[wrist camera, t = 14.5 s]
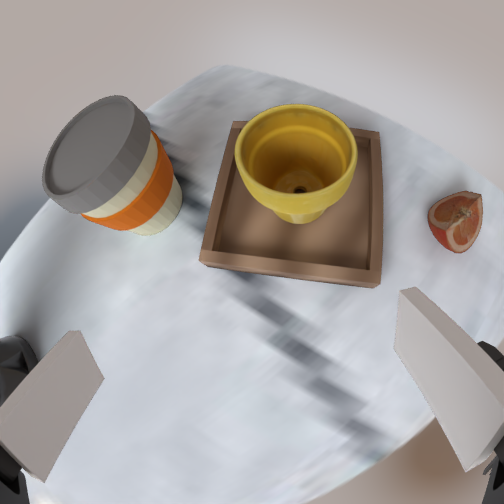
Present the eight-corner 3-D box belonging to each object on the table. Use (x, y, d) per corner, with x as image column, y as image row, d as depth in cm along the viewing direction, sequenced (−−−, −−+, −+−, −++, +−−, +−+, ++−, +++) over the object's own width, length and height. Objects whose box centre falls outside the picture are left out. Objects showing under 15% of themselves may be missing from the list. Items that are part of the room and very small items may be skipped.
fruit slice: (450, 192, 29) (466, 173, 24) (479, 233, 26) (499, 219, 22) (411, 224, 29) (426, 206, 24) (443, 270, 26) (463, 259, 22)
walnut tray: (207, 266, 32) (198, 260, 29) (238, 135, 36) (233, 121, 33) (373, 288, 28) (380, 283, 25) (374, 146, 32) (379, 132, 29)
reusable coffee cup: (205, 163, 36) (156, 83, 21) (183, 254, 33) (105, 202, 18) (130, 166, 38) (71, 106, 24) (106, 244, 35) (26, 203, 21)
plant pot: (297, 144, 33) (292, 87, 23) (362, 196, 29) (381, 145, 20) (235, 197, 32) (209, 149, 23) (299, 259, 29) (297, 226, 20)
